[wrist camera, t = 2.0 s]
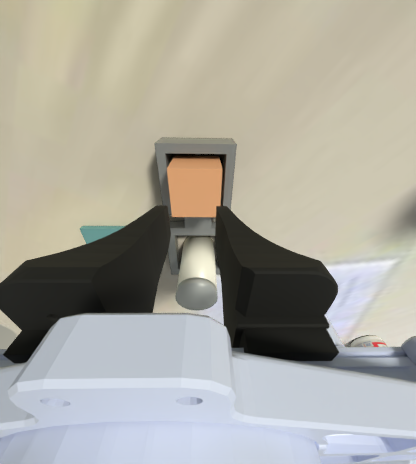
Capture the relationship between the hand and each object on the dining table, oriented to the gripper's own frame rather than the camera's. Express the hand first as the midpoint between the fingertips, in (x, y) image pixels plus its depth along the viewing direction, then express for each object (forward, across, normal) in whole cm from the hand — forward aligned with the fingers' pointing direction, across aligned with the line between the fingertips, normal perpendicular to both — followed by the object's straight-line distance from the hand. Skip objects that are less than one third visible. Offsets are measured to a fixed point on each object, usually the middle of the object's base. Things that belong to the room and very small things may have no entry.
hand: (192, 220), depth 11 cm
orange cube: (+8, 0, 0) cm, 8 cm away
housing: (+9, 0, +5) cm, 11 cm away
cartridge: (+9, 0, +10) cm, 13 cm away
